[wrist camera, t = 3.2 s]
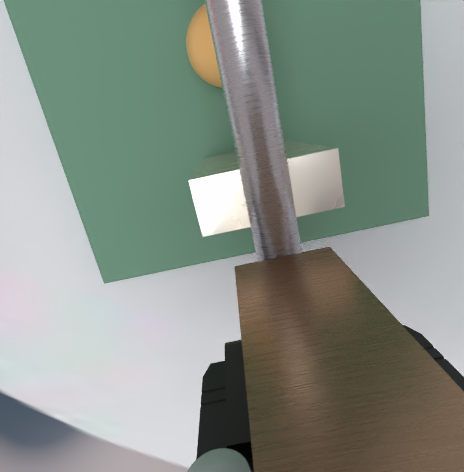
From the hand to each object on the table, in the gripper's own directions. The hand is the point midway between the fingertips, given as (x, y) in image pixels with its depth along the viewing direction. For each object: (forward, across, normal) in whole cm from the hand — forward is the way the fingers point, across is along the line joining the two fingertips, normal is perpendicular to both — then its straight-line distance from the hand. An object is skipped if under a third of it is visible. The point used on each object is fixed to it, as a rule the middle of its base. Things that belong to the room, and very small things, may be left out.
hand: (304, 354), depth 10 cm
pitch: (+14, 0, -11) cm, 17 cm away
